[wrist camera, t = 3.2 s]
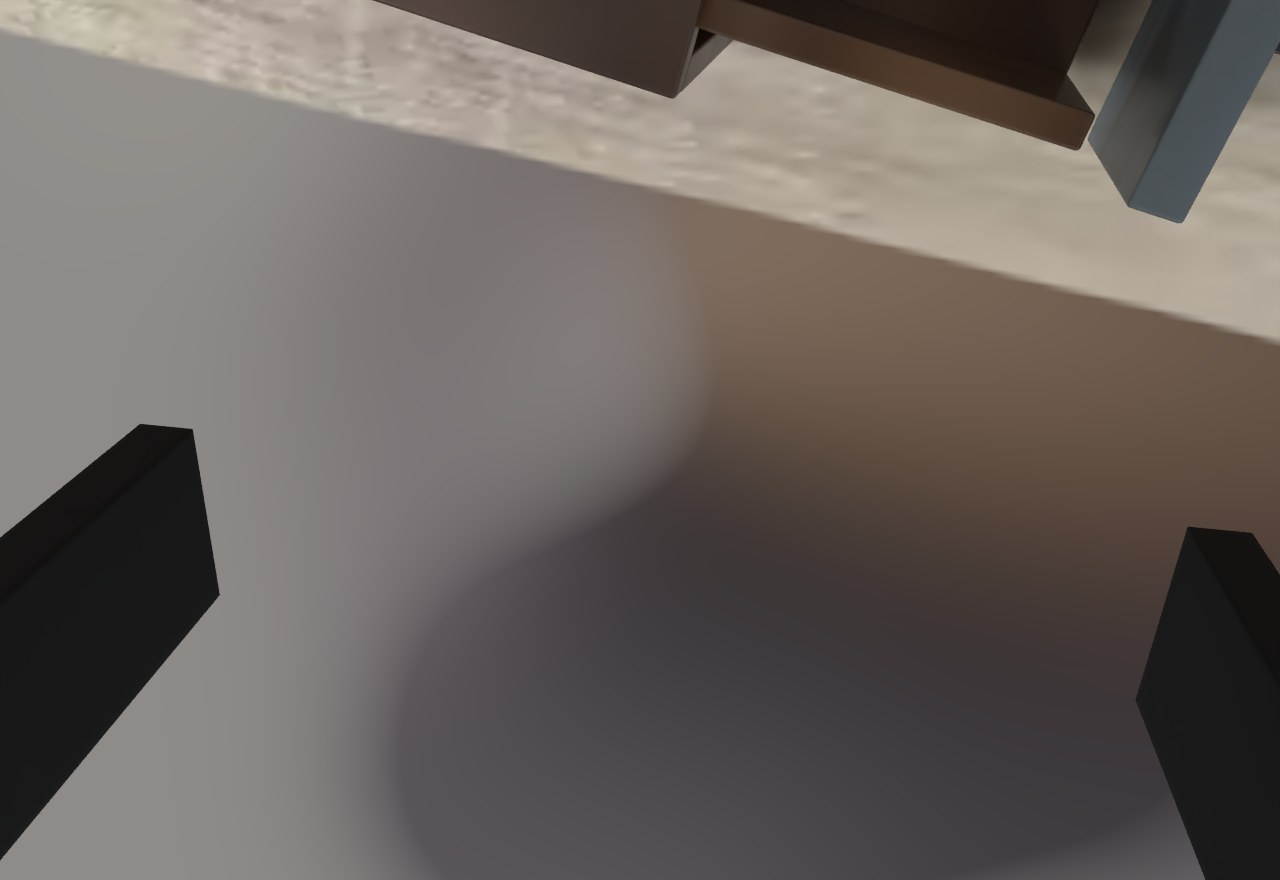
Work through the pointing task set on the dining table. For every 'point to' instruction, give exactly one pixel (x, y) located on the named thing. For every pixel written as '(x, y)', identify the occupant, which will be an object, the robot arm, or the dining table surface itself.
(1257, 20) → the drawer
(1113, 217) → the dining table surface
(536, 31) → the cabinet
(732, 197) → the dining table surface
